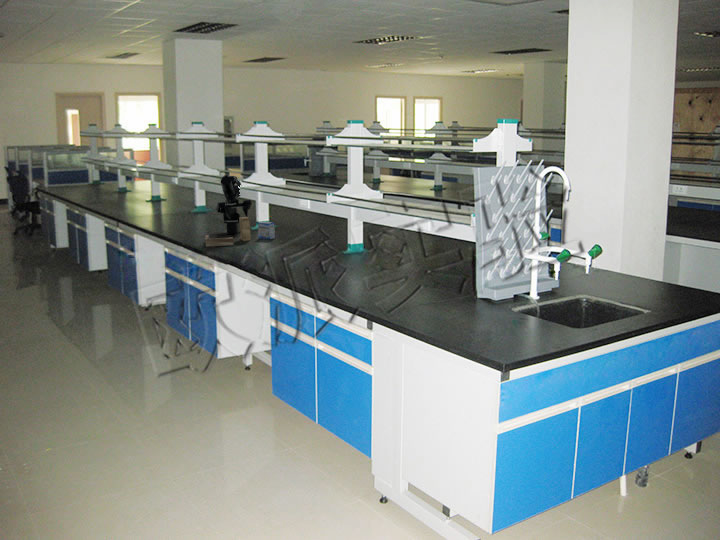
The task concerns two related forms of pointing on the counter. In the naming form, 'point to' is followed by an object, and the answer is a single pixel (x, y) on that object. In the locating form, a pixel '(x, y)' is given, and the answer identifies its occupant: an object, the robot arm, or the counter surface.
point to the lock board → (218, 241)
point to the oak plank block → (245, 228)
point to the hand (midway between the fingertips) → (238, 218)
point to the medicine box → (266, 230)
